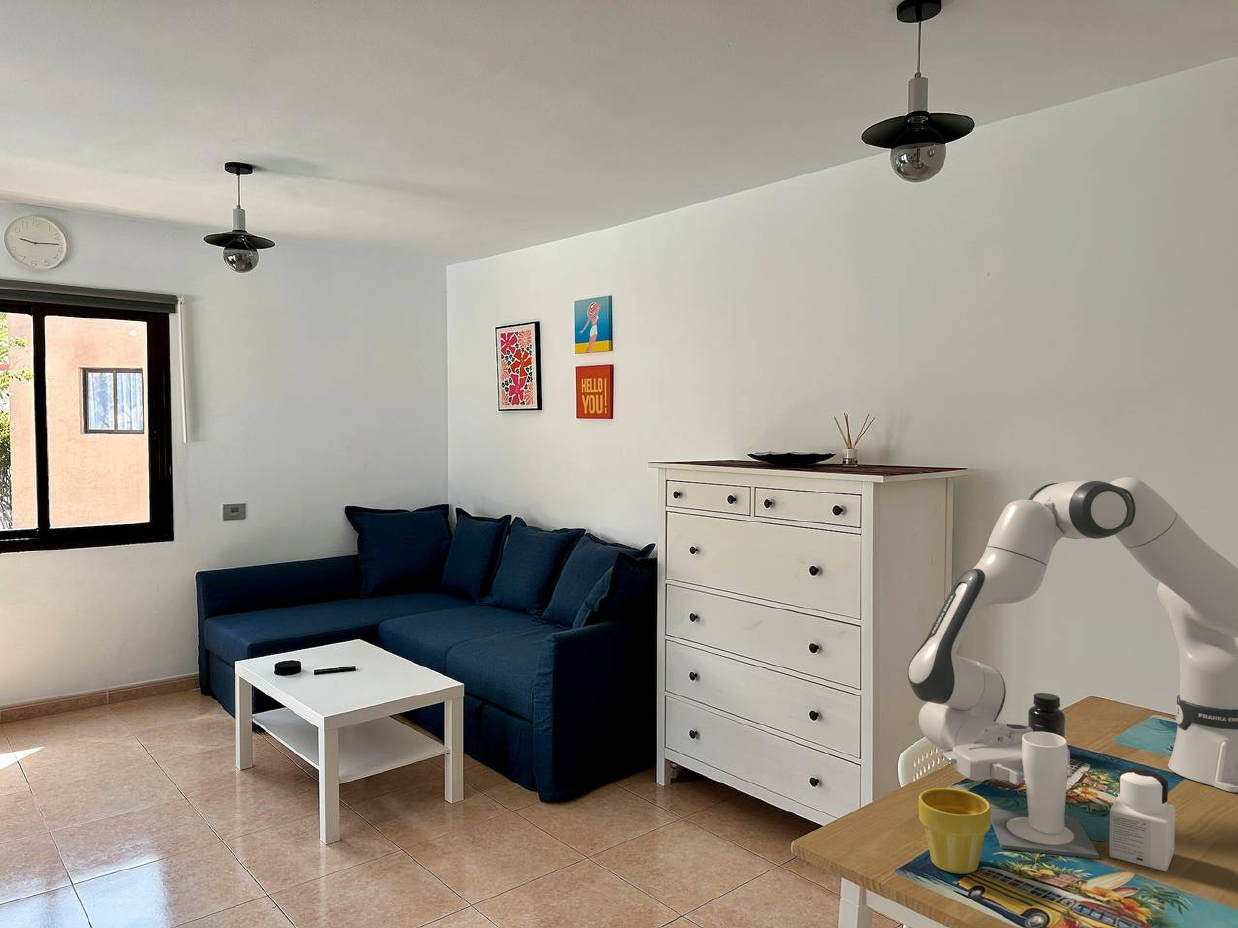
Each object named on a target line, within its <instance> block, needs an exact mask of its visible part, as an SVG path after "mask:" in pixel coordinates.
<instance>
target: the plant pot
mask: <svg viewBox="0 0 1238 928" xmlns="http://www.w3.org/2000/svg"><path fill="white" fill-rule="evenodd" d="M991 809H992V808H991V804H990V803H989V802H988V800H987V799H985V798H984V797H982V796H980V795H979V794H977V793H974V792H971V791H968V790H964V789H958V788H950V787H936V788H930V789H926V790H923V791H922V792H921V793H920V794H919V796H918V819H919V821H920V822H921V823H922V824H923V826H924V832H925V835H926V840H927V845H928V850H929V855H930V860H931V863H932V864H933V865H934V866H935V867H937V868H939V869H941V870H943V871H946V872H948V873H951V874H952V873H953V874H960V875H961V874H962V875H963V874H971V873H973V872H976V870H977V869H978V868H979V863H980V859H981V854H982V849H983V845H984V841H985V837H986V833H988V832H989V831H990V829H991V825H992V823H991Z"/></svg>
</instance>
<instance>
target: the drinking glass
mask: <svg viewBox="0 0 1238 928" xmlns="http://www.w3.org/2000/svg"><path fill="white" fill-rule="evenodd" d="M1067 748H1068V741H1067V740H1066V737H1065V738H1063V737H1061V736H1059V735H1057V734H1053V733H1048V732H1029V733H1026V734H1024V735H1023V736H1022V762H1023V771H1024V778H1023V779H1024V785H1025V794H1026V804H1027V812H1028V820H1029V824H1030V826H1031V827H1032V828H1033V829H1035V830H1036V831H1039V832H1042V833H1046V834H1057V833H1060V832H1062V831H1063V830H1064V827H1065V819H1064V816H1066V810H1065V809H1066V799H1067V788H1068V784H1067V783H1068V777H1067V774H1068V749H1069V748H1068V749H1067Z"/></svg>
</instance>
